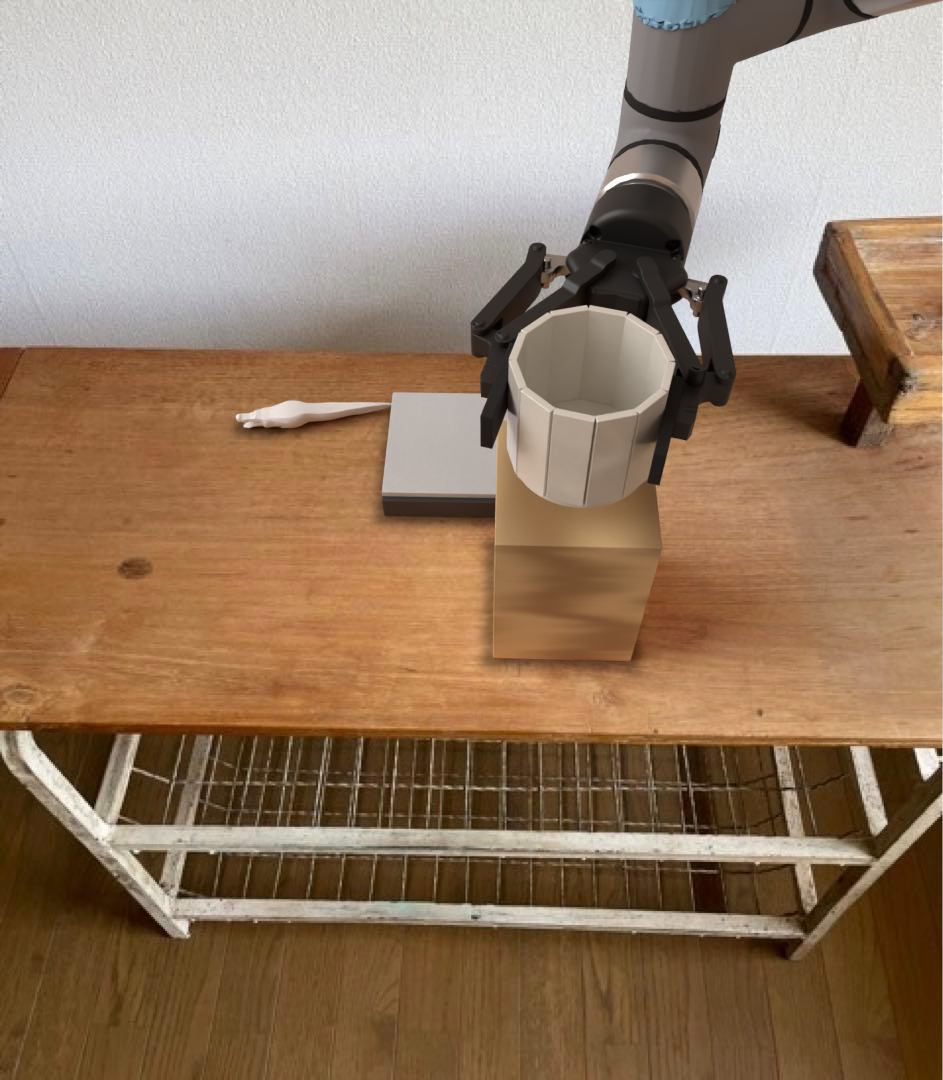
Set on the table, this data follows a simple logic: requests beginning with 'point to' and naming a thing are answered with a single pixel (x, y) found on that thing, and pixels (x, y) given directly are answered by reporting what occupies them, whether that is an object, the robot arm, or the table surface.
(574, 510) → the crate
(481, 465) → the scale
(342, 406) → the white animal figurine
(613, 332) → the pot
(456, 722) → the table surface
